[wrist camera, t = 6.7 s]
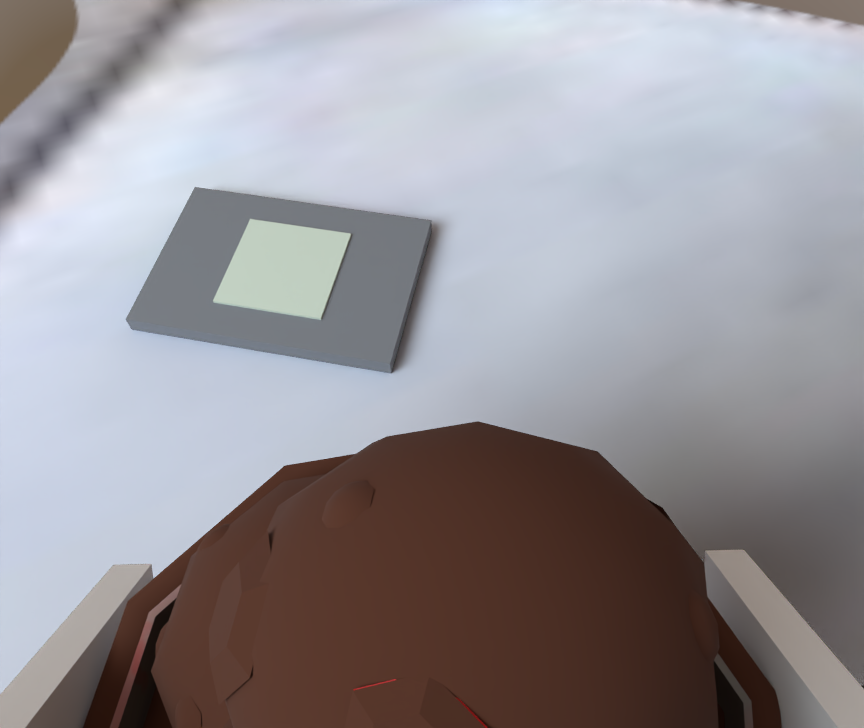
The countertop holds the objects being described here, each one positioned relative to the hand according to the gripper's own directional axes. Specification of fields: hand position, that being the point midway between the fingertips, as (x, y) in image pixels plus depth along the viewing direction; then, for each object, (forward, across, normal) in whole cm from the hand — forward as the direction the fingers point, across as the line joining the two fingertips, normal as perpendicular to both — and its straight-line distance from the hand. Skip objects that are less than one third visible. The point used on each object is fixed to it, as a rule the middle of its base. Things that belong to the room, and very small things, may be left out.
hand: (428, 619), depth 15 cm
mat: (+15, -5, +5) cm, 17 cm away
